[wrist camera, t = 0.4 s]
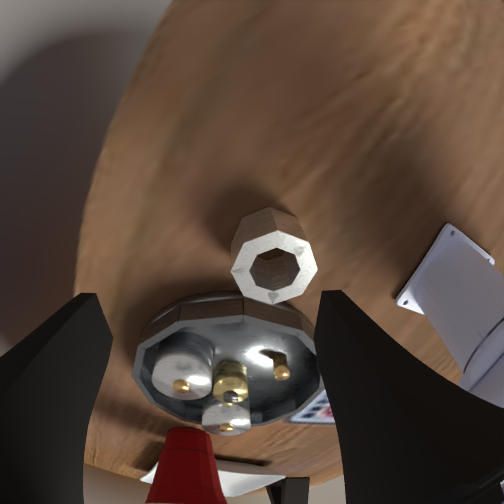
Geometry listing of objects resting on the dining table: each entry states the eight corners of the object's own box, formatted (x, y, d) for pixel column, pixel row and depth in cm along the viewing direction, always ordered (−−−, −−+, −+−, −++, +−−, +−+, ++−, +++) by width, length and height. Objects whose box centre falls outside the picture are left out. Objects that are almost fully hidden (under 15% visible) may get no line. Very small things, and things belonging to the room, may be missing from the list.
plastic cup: (209, 454, 36) (209, 521, 26) (142, 436, 33) (132, 508, 22) (246, 431, 32) (251, 514, 21) (166, 410, 29) (156, 503, 18)
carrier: (355, 321, 23) (374, 364, 19) (271, 414, 30) (275, 449, 26) (161, 261, 19) (144, 307, 15) (131, 383, 26) (122, 421, 22)
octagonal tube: (314, 224, 18) (329, 250, 15) (283, 278, 20) (291, 310, 17) (250, 198, 17) (254, 221, 14) (223, 258, 19) (222, 289, 16)
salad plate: (140, 468, 43) (138, 482, 40) (164, 440, 34) (162, 460, 31) (233, 485, 49) (234, 498, 46) (286, 459, 40) (288, 476, 37)
